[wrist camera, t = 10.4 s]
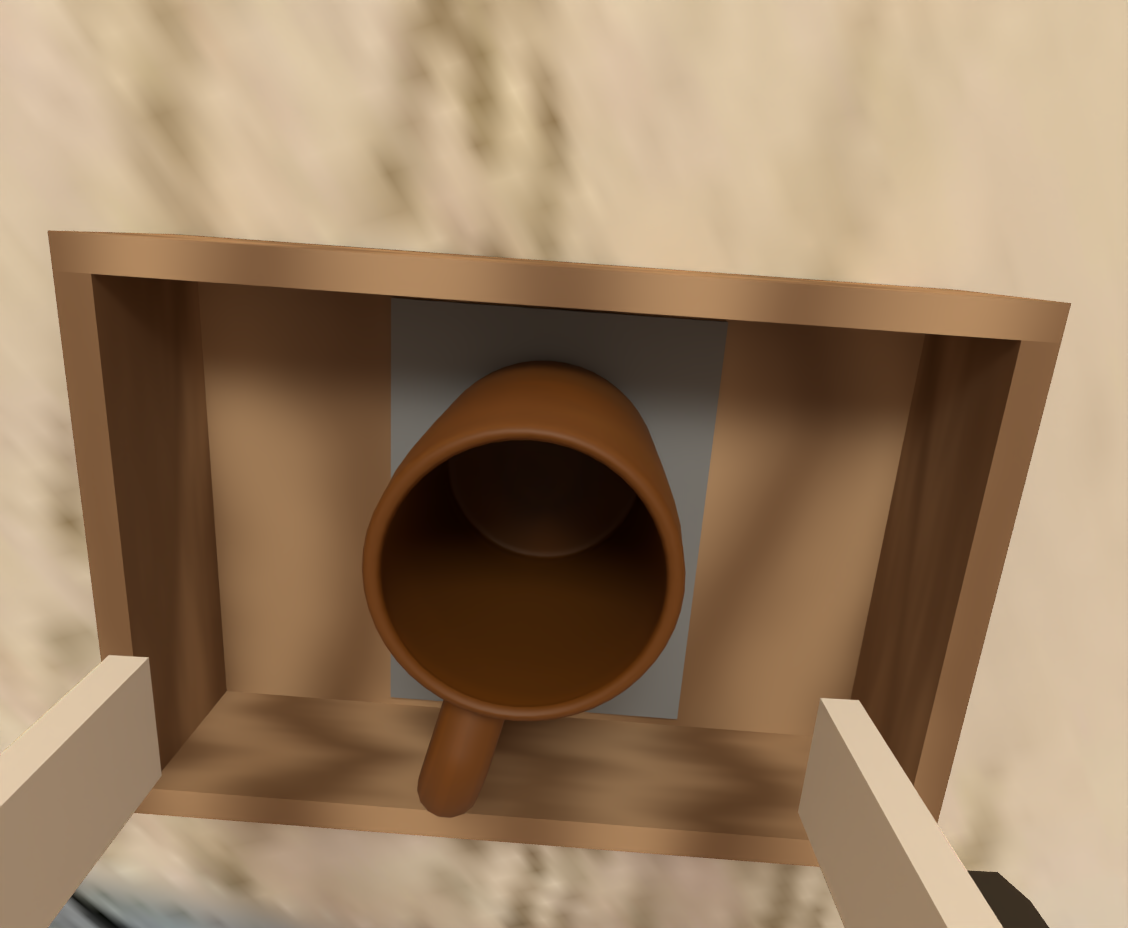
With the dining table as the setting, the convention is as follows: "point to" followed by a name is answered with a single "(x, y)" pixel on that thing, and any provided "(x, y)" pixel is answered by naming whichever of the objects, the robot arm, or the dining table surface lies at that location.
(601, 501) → the mug
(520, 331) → the pad
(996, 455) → the crate
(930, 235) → the dining table surface
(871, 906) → the robot arm
